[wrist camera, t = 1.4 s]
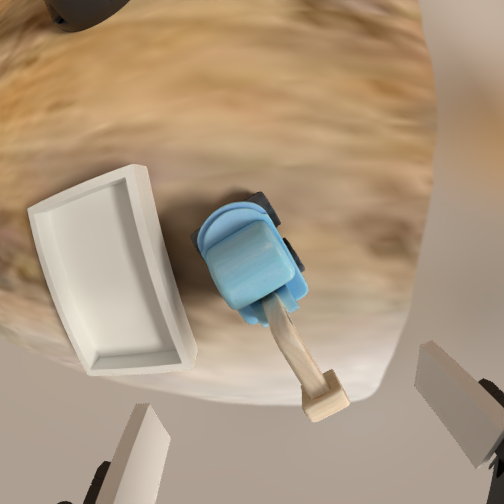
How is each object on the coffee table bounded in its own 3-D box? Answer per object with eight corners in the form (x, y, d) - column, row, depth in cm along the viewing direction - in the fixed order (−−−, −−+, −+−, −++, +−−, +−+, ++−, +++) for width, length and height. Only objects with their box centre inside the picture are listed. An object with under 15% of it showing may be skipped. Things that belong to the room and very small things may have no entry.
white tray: (53, 204, 28) (27, 208, 23) (151, 167, 28) (132, 163, 23) (104, 354, 33) (88, 375, 28) (199, 343, 33) (193, 369, 28)
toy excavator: (264, 340, 33) (279, 450, 17) (189, 225, 30) (129, 271, 13) (324, 307, 33) (384, 401, 16) (257, 184, 29) (277, 180, 12)
